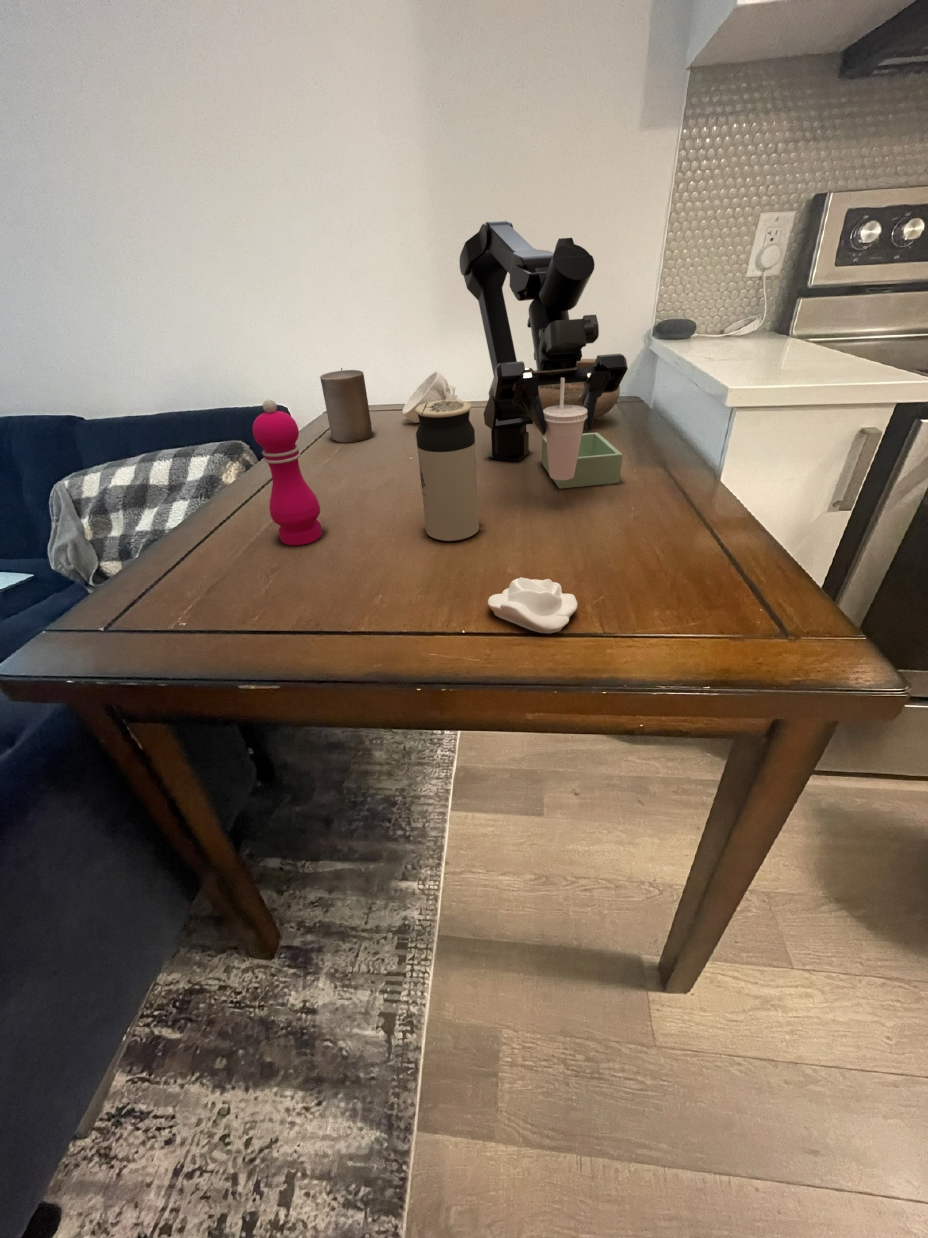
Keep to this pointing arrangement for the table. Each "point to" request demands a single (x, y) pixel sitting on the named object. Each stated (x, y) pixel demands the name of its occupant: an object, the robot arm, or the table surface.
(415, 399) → the skull bowl
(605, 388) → the robot arm
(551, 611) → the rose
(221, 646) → the table surface
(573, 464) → the smoothie
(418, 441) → the travel mug
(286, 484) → the pepper mill
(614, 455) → the bin
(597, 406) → the cooking pot
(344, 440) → the pillar candle
